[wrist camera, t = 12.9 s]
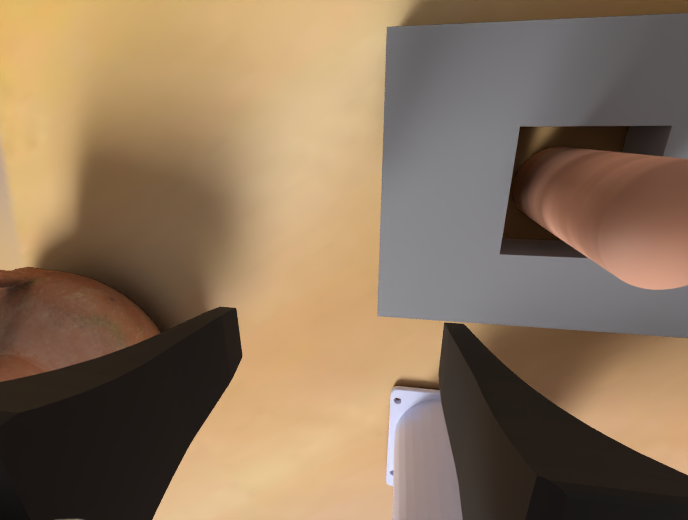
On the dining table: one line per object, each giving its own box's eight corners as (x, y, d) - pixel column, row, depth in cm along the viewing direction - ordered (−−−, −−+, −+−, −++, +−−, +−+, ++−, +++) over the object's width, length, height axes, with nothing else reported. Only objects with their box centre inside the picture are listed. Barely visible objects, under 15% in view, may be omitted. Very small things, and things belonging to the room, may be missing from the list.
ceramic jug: (214, 432, 29) (63, 679, 16) (67, 421, 32) (-170, 628, 19) (162, 224, 23) (-149, 348, 10) (-16, 229, 26) (-455, 335, 12)
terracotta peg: (583, 222, 19) (724, 293, 11) (507, 220, 20) (585, 285, 11) (602, 146, 18) (779, 160, 10) (519, 146, 18) (618, 159, 10)
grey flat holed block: (695, 312, 20) (743, 342, 17) (380, 293, 23) (377, 315, 20) (807, 26, 15) (899, 3, 12) (389, 43, 18) (386, 26, 15)
